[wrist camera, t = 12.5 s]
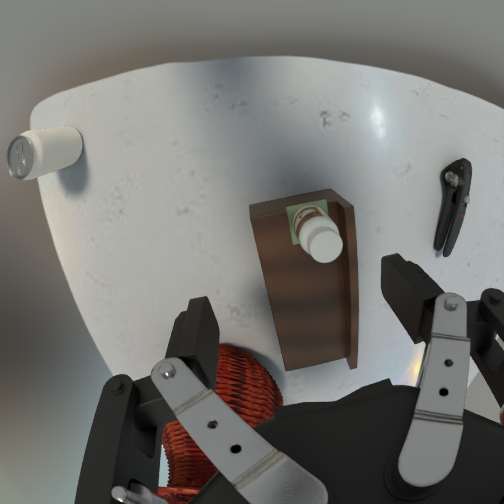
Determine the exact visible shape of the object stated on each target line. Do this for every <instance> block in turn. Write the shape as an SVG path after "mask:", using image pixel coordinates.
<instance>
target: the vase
mask: <svg viewBox="0 0 504 504" xmlns="http://www.w3.org/2000/svg"><path fill="white" fill-rule="evenodd" d="M215 393H216V394H217V395H218V396H219V397H220V398H221V399H222V400H223V401H224V402H225V403H226V404H227V405H228V406H229V407H230V408H231V409H232V410H233V411H234V412H235V413H236V414H237V415H238V416H239V417H240V418H241V419H243V420H244V421H245V422H246V423H247V424H248V425H249V426H250V427H251V428H252V429H253V428H254V427H256V426H257V425H258V424H260V423H261V422H263V421H265V420H267V419H269V418H271V417H273V416H275V413H274V408H276V407H282V406H283V401H284V400H283V397H282V395H281V392H280V390H279V388H278V387H277V384H276V381H275V380H273V377H272V376H271V375H270V374H269V372H268V371H267V370H266V368H264V367H263V366H262V365H261V364H260V363H259V362H258V361H257V360H256V359H255V358H253V357H252V356H251V355H250V354H247V352H244V351H241V350H239V349H238V348H233V347H230V346H227V345H219V350H218V364H217V379H216V392H215ZM162 445H163V448H164V449H165V453H166V454H165V455H166V456H167V459H168V462H167V463H168V464H169V466H168V467H169V468H170V469H169V473H168V474H169V475H170V476H169V477H168V478H169V481H168V483H169V484H167V487H158V494H160V495H161V496H163V497H164V498H165V499H166V501H167V503H168V504H188V503H189V502H190V501H191V500H192V499H193V498H194V497H195V496H196V495H197V493H198V492H199V491H200V490H201V489H202V488H203V487H204V486H205V485H206V483H207V482H208V481H209V480H210V479H211V478H212V477H213V475H214V474H215V473H216V472H217V471H218V468H217V467H216V466H215V465H214V464H213V463H212V462H211V460H210V459H209V458H208V457H207V456H206V455H205V453H204V452H203V451H202V450H201V449H200V447H199V446H198V445H197V444H196V442H195V441H194V440H193V439H192V437H191V436H190V435H189V434H188V432H187V431H186V430H185V428H184V427H183V426H182V424H181V423H180V422H179V420H177V421H174V422H171V423H168V424H165V425H164V426H163V436H162ZM174 493H175V494H174ZM180 496H181V497H180Z"/></svg>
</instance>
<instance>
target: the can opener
mask: <svg viewBox="0 0 504 504" xmlns="http://www.w3.org/2000/svg"><path fill="white" fill-rule="evenodd" d="M471 177H472V166H471V163H470V161H468V160H467V159H465V158H462V159H460V160H456V161H454V162H453V163H451V164H450V165H449V166H447V167H446V168H445V170H444V171H443V174H442V178H443V182H444V184H445V187H446V204H445V208H444V211H443V215H442V218H441V221H440V224H439V228H438V232H437V236H436V241H435V249H436V250H437V251H438V250H440V249H442V247H443V245H444V242H445V239H446V236H447V233H448V230H449V233H448V236H447V240H446V243H445V246H444V250H443V256H444V257H448V256H449V255H450V254H451V252H452V249H453V247H454V245H455V242H456V240H457V237H458V235H459V232H460V229H461V226H462V223H463V219H464V216H465V212H466V207H467V204H468V203H469V201H470V199H469V191H470V185H471ZM451 220H452V221H451ZM450 224H451V225H450ZM449 227H450V229H449Z"/></svg>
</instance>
